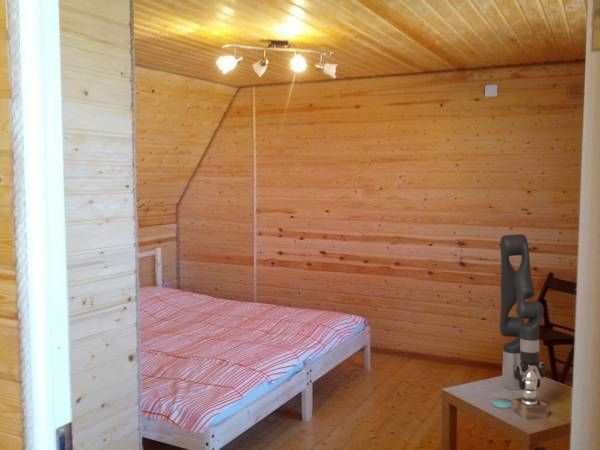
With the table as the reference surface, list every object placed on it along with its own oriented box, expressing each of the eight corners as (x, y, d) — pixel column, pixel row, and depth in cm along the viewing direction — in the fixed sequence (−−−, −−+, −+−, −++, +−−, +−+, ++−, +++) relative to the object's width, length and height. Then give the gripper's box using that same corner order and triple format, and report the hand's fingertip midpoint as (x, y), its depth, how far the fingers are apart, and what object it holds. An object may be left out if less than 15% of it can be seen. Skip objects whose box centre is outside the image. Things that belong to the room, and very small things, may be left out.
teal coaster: (487, 402, 265) (487, 399, 265) (506, 399, 267) (506, 397, 267) (499, 409, 256) (499, 407, 256) (517, 407, 258) (517, 404, 258)
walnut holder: (511, 410, 255) (511, 398, 255) (532, 407, 257) (532, 396, 257) (526, 420, 244) (526, 408, 244) (548, 417, 247) (548, 405, 246)
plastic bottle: (517, 409, 253) (517, 363, 251) (530, 406, 255) (530, 360, 254) (528, 415, 247) (528, 367, 245) (541, 412, 249) (541, 365, 248)
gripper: (539, 345, 254) (539, 383, 256) (509, 348, 251) (509, 387, 252) (550, 349, 247) (550, 389, 248) (519, 353, 243) (519, 393, 245)
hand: (529, 388), depth 250 cm, fingers closed on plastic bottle, 6 cm apart
